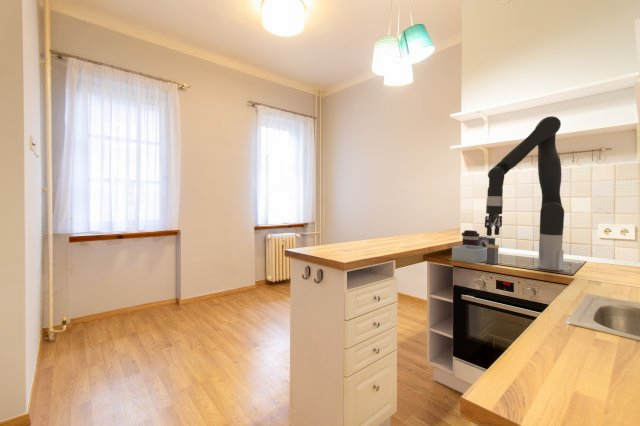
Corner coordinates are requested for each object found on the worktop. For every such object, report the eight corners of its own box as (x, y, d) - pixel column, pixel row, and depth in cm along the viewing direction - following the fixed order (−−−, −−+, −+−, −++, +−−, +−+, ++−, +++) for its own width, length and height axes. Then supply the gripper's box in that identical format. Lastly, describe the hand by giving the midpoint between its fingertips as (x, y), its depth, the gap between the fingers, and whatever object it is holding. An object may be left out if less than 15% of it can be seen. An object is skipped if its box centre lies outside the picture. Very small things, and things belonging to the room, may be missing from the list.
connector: (498, 263, 161) (499, 245, 160) (494, 264, 158) (495, 245, 158) (489, 262, 164) (490, 244, 164) (485, 263, 162) (486, 244, 161)
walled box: (490, 260, 171) (490, 247, 170) (476, 263, 161) (476, 250, 161) (466, 256, 182) (466, 244, 182) (451, 259, 173) (452, 247, 172)
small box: (473, 252, 196) (473, 236, 196) (480, 251, 199) (480, 236, 199) (488, 255, 187) (488, 238, 186) (495, 254, 190) (495, 238, 189)
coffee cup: (458, 254, 189) (458, 230, 189) (465, 252, 195) (466, 229, 195) (474, 256, 181) (474, 231, 181) (481, 254, 187) (482, 231, 187)
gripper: (495, 205, 153) (494, 236, 154) (508, 205, 161) (506, 235, 162) (480, 204, 159) (479, 235, 160) (493, 204, 167) (491, 233, 168)
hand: (493, 235), depth 161 cm, fingers open, 8 cm apart
